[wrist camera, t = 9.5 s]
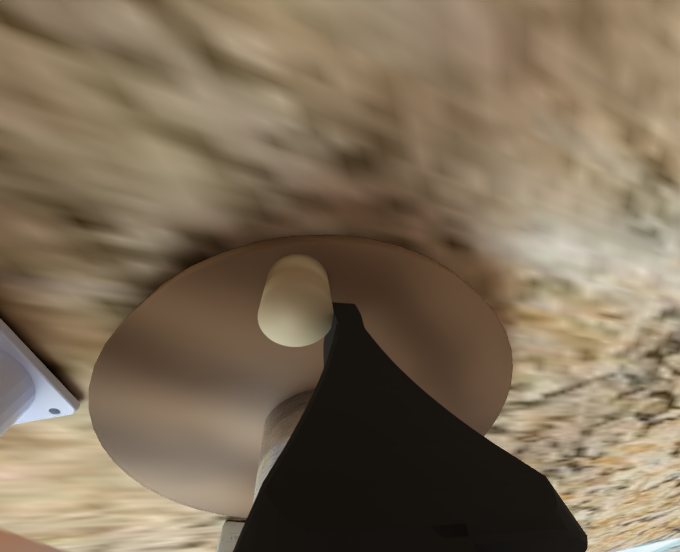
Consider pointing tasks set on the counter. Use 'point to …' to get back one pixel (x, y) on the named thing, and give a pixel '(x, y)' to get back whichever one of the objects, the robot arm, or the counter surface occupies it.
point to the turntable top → (278, 356)
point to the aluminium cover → (279, 432)
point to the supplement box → (229, 536)
